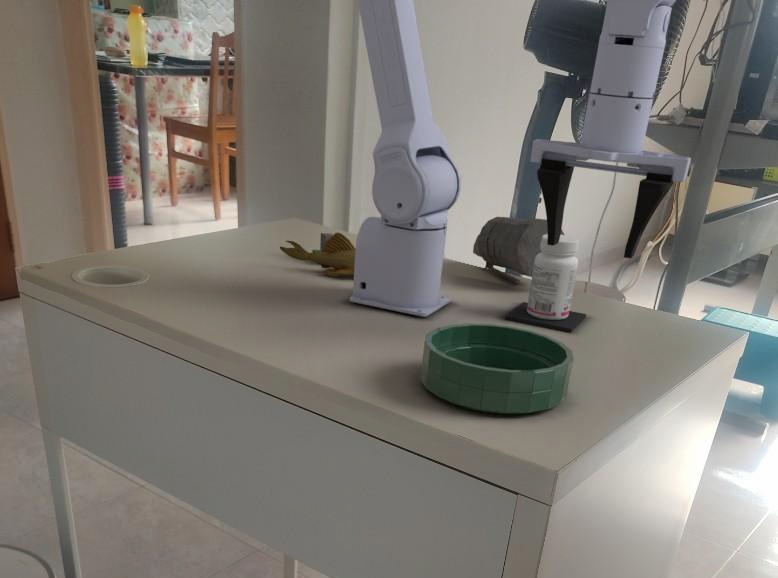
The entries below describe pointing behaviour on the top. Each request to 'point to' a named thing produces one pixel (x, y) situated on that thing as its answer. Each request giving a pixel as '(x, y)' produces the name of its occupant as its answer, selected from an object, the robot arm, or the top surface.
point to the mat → (564, 324)
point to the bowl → (496, 368)
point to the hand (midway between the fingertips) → (590, 249)
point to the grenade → (511, 244)
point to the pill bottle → (553, 279)
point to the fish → (328, 255)
